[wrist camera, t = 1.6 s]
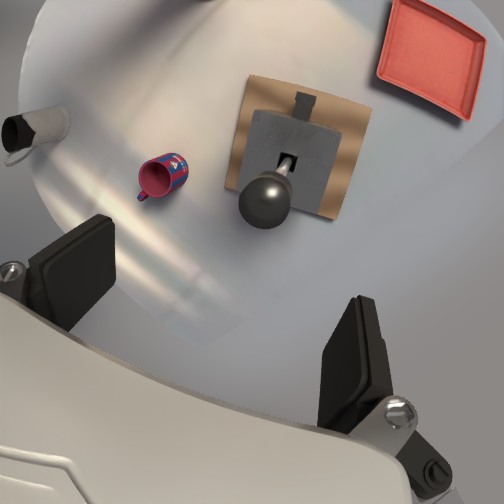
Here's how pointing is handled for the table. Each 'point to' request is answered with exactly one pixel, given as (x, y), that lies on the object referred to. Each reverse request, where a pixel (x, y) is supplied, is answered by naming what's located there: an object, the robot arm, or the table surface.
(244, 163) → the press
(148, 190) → the mug
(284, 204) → the plunger
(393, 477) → the robot arm
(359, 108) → the board
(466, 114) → the plant saucer
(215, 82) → the table surface
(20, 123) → the grey and black pitcher
